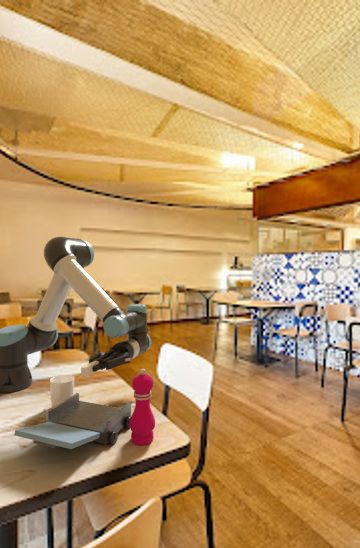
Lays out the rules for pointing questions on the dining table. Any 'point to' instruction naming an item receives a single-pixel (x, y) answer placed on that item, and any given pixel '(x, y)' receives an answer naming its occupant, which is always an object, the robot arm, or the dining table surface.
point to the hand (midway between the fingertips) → (83, 372)
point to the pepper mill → (142, 410)
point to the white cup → (61, 388)
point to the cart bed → (91, 417)
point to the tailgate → (57, 435)
